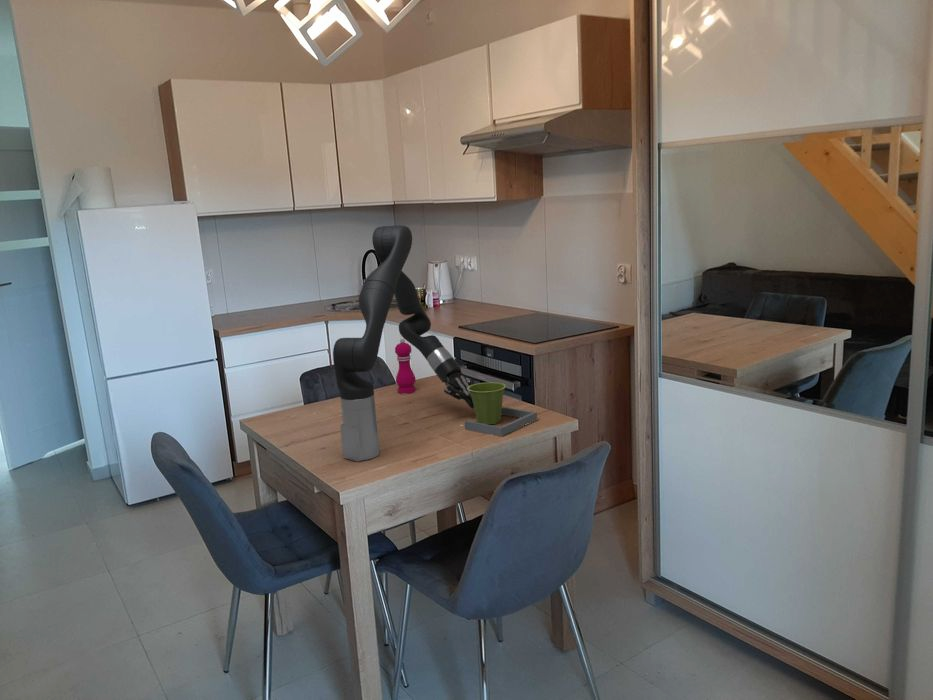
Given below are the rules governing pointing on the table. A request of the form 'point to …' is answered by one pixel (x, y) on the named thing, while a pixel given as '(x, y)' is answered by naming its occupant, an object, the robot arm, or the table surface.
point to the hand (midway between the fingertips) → (475, 406)
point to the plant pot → (487, 401)
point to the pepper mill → (404, 368)
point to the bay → (500, 431)
